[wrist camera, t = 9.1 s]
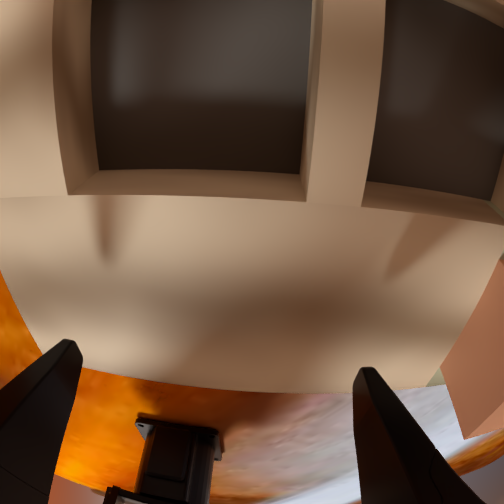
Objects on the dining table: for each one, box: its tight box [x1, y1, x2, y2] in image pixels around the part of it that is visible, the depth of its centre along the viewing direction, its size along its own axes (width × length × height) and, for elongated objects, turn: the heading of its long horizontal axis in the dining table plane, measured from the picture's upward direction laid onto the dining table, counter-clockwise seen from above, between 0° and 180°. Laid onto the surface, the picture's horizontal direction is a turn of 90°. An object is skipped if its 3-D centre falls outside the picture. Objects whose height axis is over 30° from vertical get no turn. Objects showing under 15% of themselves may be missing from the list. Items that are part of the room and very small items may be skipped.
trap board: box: [0, 0, 504, 394], centre depth 9 cm, size 17×27×4 cm, turn 88°
